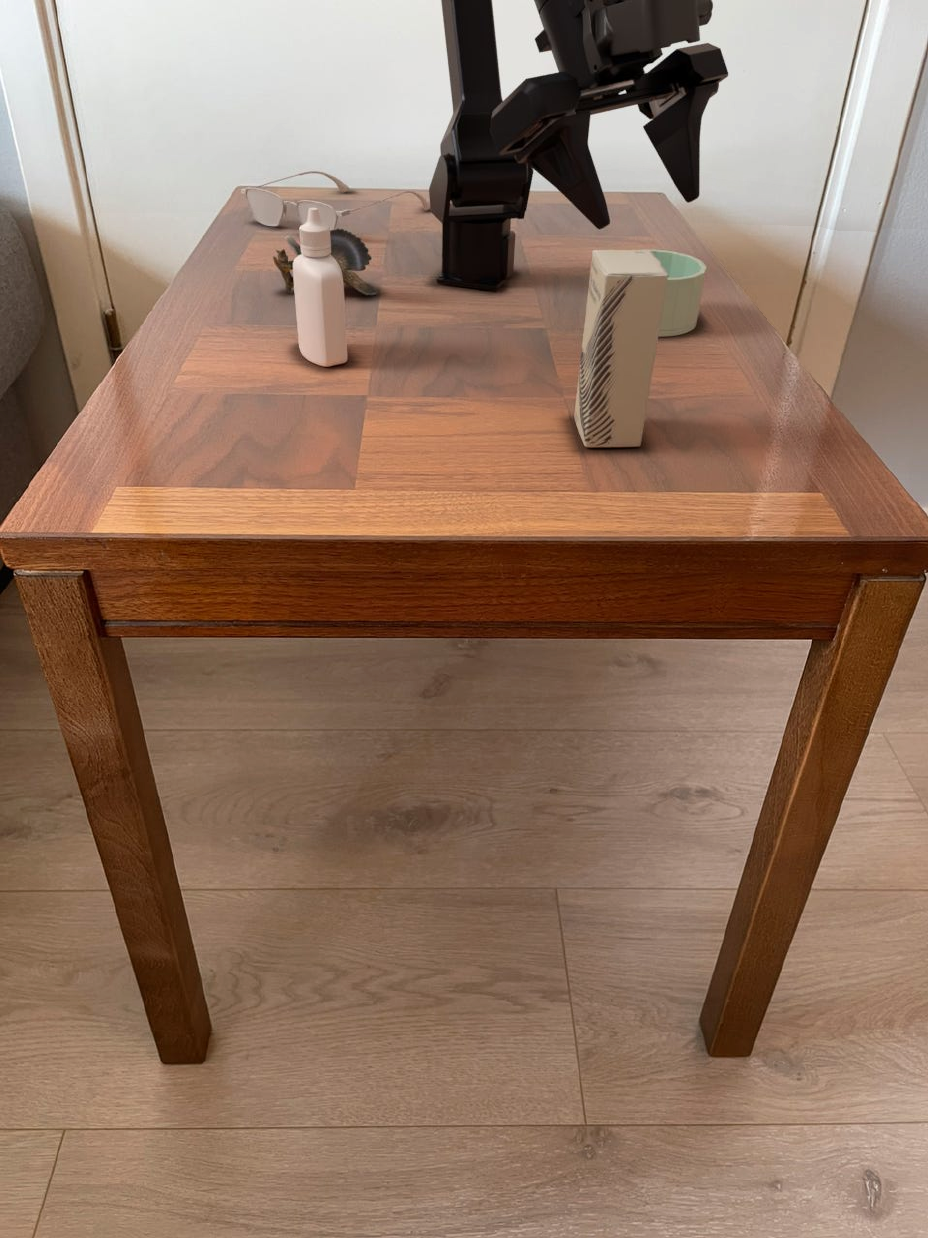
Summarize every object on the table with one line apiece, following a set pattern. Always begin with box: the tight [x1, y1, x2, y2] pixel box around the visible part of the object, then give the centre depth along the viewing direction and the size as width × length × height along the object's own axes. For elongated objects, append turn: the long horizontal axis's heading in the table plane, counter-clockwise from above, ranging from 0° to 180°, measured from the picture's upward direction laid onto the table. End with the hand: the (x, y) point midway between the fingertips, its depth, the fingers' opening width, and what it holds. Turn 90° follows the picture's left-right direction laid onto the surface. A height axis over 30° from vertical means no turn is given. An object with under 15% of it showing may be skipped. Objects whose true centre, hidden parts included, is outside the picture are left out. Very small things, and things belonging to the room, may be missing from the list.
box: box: [573, 249, 668, 448], centre depth 69 cm, size 5×4×13 cm
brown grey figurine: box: [272, 228, 378, 296], centre depth 94 cm, size 8×7×9 cm
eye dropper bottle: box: [292, 208, 349, 368], centre depth 80 cm, size 4×6×12 cm
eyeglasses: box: [240, 170, 430, 230], centre depth 116 cm, size 15×18×4 cm
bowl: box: [649, 249, 708, 338], centre depth 90 cm, size 9×9×5 cm
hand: (650, 213), depth 72 cm, fingers open, 9 cm apart
